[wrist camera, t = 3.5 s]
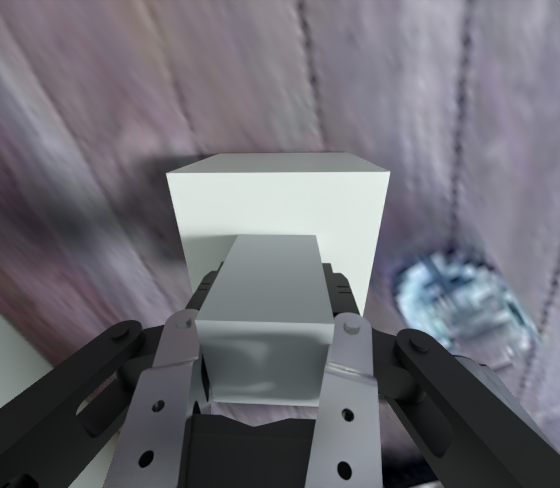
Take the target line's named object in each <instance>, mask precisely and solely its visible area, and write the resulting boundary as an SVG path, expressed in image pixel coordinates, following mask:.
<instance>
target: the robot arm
mask: <svg viewBox="0 0 560 488" xmlns="http://www.w3.org/2000/svg"><path fill="white" fill-rule="evenodd" d="M224 262H225V261H222V262H221V264H220V266H219V268H218V270H217V271H211V272H209V273H208V274H207V275H205V276H204V277H203V279H202V281H201V283H200V285H199V286H198V288H197V290H196V291H195V293H194V294H193V296H192V298H191V299H190V301H189V303H188V304H187V306H186V308H185V309H184V310H180V311H178V312H176V313H174V314H173V315H171V316H170V317H169V318H168V319H167V321H166V322H165V325H161V326H157V327H152V328H147V329H143V328H142V325H141V323H140V322H138V321H135V320H128V321H123V322H120V323H117V324H115V325H113V326H111V327H110V328H108V329H107V330H105V331H104V332H103V333H101V334H100V335H99V336H97V337H96V338H95V339H93V340H92V341H91V342H89V343H88V344H87V345H85V346H84V347H82V348H81V349H80V350H78V351H77V352H76V353H74V354H73V355H72V356H70V357H69V358H68V359H66V360H65V361H64V362H62V363H61V364H60V365H58V366H57V367H56V368H54V369H53V370H51V371H50V372H49V373H47V374H46V375H45V376H43V377H42V378H41V379H39V380H38V381H37V382H35V383H34V384H33V385H31V386H30V387H29V388H27V389H26V390H24V391H23V392H22V393H21V394H19V395H18V396H16V397H15V398H14V399H12V400H11V401H10V402H8V403H7V404H6V405H4V406H3V407H2V408H0V488H68V487H69V486H70V485H71V483H72V482H73V481H74V480H75V479H76V478H77V477H78V475H79V474H80V473H81V472H82V471H83V470H84V469H85V467H86V466H87V465H88V464H89V463H90V461H92V459H93V458H94V457H95V456H96V455H97V454H98V452H99V451H100V450H101V449H102V448H103V447H104V446H105V444H106V443H107V442H108V441H109V440H110V439H111V437H112V436H113V435H114V434H115V433H116V432H117V431H118V429H119V428H120V427H121V426H122V425H123V424H124V425H123V428H122V431H121V434H120V437H119V440H118V443H117V446H116V450H115V452H114V455H113V458H112V461H111V464H110V467H109V470H108V473H107V476H106V479H105V482H104V485H103V488H385V487H384V486H383V485H382V468H381V447H380V425H379V404H378V393H381V394H383V395H384V397H385V398H386V400H387V401H388V403H389V404H390V406H391V408H392V409H393V411H394V412H395V414H396V415H397V417H398V418H399V420H400V421H401V423H402V424H403V426H404V427H405V429H406V430H407V432H408V433H409V435H410V436H411V438H412V439H413V441H414V442H415V444H416V445H417V447H418V448H419V450H420V451H421V453H422V454H423V456H424V457H425V459H426V461H427V462H428V464H429V465H430V467H431V468H432V470H433V471H434V473H435V474H436V476H437V477H438V479H439V480H440V482H441V483H442V485H443V486H444V488H560V452H559V451H558V450H557V448H556V447H555V446H554V445H553V444H552V442H551V441H550V440H549V439H548V437H547V436H546V435H545V434H544V433H543V431H542V430H541V429H540V428H539V426H538V425H537V424H536V423H535V422H534V420H533V419H532V418H531V417H530V415H529V414H528V413H527V412H526V411H525V409H524V408H523V407H522V406H521V404H520V403H519V402H518V401H517V400H516V398H515V397H514V396H513V395H512V393H511V392H510V391H509V390H508V389H507V387H506V386H505V385H504V384H503V382H502V381H501V380H500V379H499V378H498V376H497V375H496V374H495V373H494V371H493V370H492V369H491V368H490V367H489V366H481V365H479V364H478V363H476V362H475V361H473V360H470V359H468V358H463V357H454V356H453V355H451V354H450V353H449V352H448V351H447V350H446V349H445V348H444V347H443V346H442V345H441V344H440V343H438V342H437V341H436V340H435V339H434V338H433V337H431V336H430V335H428V334H427V333H425V332H422V331H420V330H416V329H403V330H401V331H399V332H398V334H397V336H394V335H390V334H386V333H383V332H380V331H377V330H375V329H373V328H371V325H370V324H369V322H368V321H367V320H366V319H365V318H363V317H362V316H361V315H360V312H359V309H358V307H357V304H356V301H355V298H354V295H353V294H352V290H351V288H350V284H349V281H348V279H347V278H346V277H345V276H344V275H343V274H342V273H333V270H332V266H331V263H322V266H323V271H324V275H325V280H326V285H327V290H328V294H329V299H330V304H331V309H332V313H333V318H334V323H335V326H334V334H333V342H332V344H329V349H328V356H327V362H326V364H325V370H324V375H323V381H322V387H321V393H320V399H319V405H318V411H317V417H316V420H314V419H293V418H289V419H285V420H281V421H277V422H273V423H269V424H265V425H261V426H256V427H252V426H249V425H246V424H244V423H241V422H238V421H236V420H233V419H230V418H228V417H225V416H222V415H211V394H212V388H211V383H210V380H209V378H208V374H207V370H206V365H205V361H204V357H203V353H202V352H203V349H202V345H201V341H200V340H199V336H198V332H197V328H196V324H195V319H196V317H197V315H198V313H199V311H200V309H201V307H202V305H203V303H204V301H205V299H206V297H207V295H208V293H209V291H210V289H211V287H212V285H213V283H214V281H215V279H216V277H217V275H218V273H219V271H220V269H221V267H222V265H223V263H224ZM112 374H113V375H114V377H115V380H114V381H112V382H111V383H110V384H109V385H108V386H107V387H106V388H105V389H104V390H103V391H102V392H101V393H100V394H99V395H98V396H97V397H96V398H95V399H93V400H92V401H91V402H90V403H89V404H88V405H87V406H86V407H85V408H84V409H83V410H82V411H81V412H80V413H79V414H78V415H76V412H77V409H78V407H79V406H80V404H81V403H82V402H83V401H84V400H85V399H86V398H87V397H88V396H89V395H90V394H91V393H92V392H93V391H94V390H95V389H97V388H98V387H99V386H100V385H101V384H102V383H103V382H104V381H105V380H106V379H107V378H109V377H110V376H111V375H112Z"/></svg>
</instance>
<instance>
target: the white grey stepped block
mask: <svg viewBox="0 0 560 488" xmlns="http://www.w3.org/2000/svg"><path fill="white" fill-rule="evenodd" d="M166 175H167V180H168V184H169V188H170V193H171V197H172V202H173V206H174V211H175V215H176V219H177V224H178V228H179V233H180V237H181V241H182V246H183V250H184V255H185V259H186V263H187V268H188V272H189V277H190V281H191V285H192V290H193V294H194V293H195V291H196V290H197V288H198V286H199V285H200V283H201V281H202V279H203V277H204V276H205V275H207V274H208V273H209V272H211V271H217V270H218V268H219V266H220V264H221V262H222V261H225V262H224V263H223V265H222V267H221V269H220V271H219V273H218V275H217V277H216V279H215V281H214V283H213V285H212V287H211V289H210V291H209V293H208V295H207V297H206V299H205V301H204V303H203V305H202V307H201V309H200V311H199V313H198V315H197V317H196V319H195V324H196V328H197V332H198V336H199V340H200V341H201V345H202V349H203V352H202V353H203V357H204V361H205V365H206V370H207V374H208V378H209V380H210V383H211V388H212V395H213V399H214V402H228V403H250V404H272V405H295V406H317V407H318V405H319V399H320V393H321V387H322V381H323V375H324V370H325V364H326V362H327V356H328V349H329V344H332V342H333V334H334V326H335V323H334V318H333V313H332V309H331V304H330V299H329V294H328V290H327V285H326V280H325V275H324V271H323V266H322V263H331V266H332V270H333V273H342V274H343V275H344V276H345V277H346V278H347V279H348V281H349V284H350V288H351V290H352V294H353V295H354V298H355V301H356V304H357V307H358V309H359V312H360V315H361V316H362V317H363V312H364V306H365V301H366V296H367V291H368V285H369V280H370V275H371V270H372V265H373V259H374V254H375V249H376V244H377V239H378V233H379V228H380V223H381V218H382V212H383V207H384V202H385V197H386V192H387V186H388V181H389V176H390V171H387V170H385V169H383V168H381V167H379V166H377V165H375V164H372V163H370V162H368V161H366V160H364V159H362V158H360V157H357V156H355V155H353V154H351V153H349V152H325V153H226V154H217V155H214V156H211V157H209V158H206V159H203V160H200V161H198V162H195V163H192V164H190V165H187V166H184V167H181V168H179V169H176V170H173V171H171V172H168V173H166Z"/></svg>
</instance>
